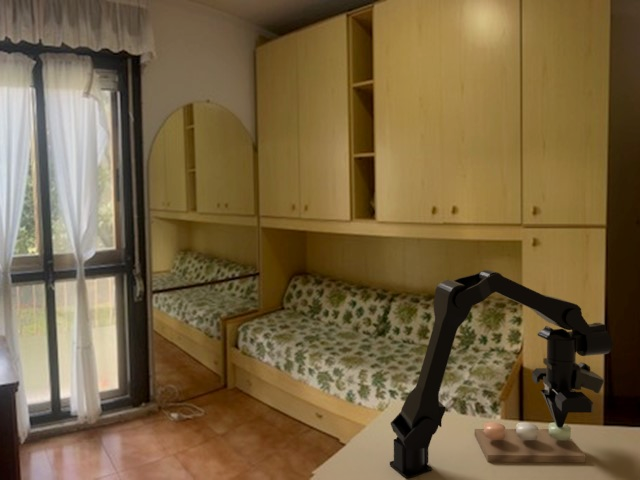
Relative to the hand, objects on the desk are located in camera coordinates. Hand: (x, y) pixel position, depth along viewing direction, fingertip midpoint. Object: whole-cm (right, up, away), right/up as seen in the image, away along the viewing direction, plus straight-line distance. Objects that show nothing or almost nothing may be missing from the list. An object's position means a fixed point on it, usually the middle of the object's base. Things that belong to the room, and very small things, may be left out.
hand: (559, 426), depth 116 cm
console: (-7, -5, +1) cm, 9 cm away
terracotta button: (-14, -2, +1) cm, 14 cm away
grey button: (-7, -2, +1) cm, 7 cm away
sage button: (0, -2, 0) cm, 2 cm away
